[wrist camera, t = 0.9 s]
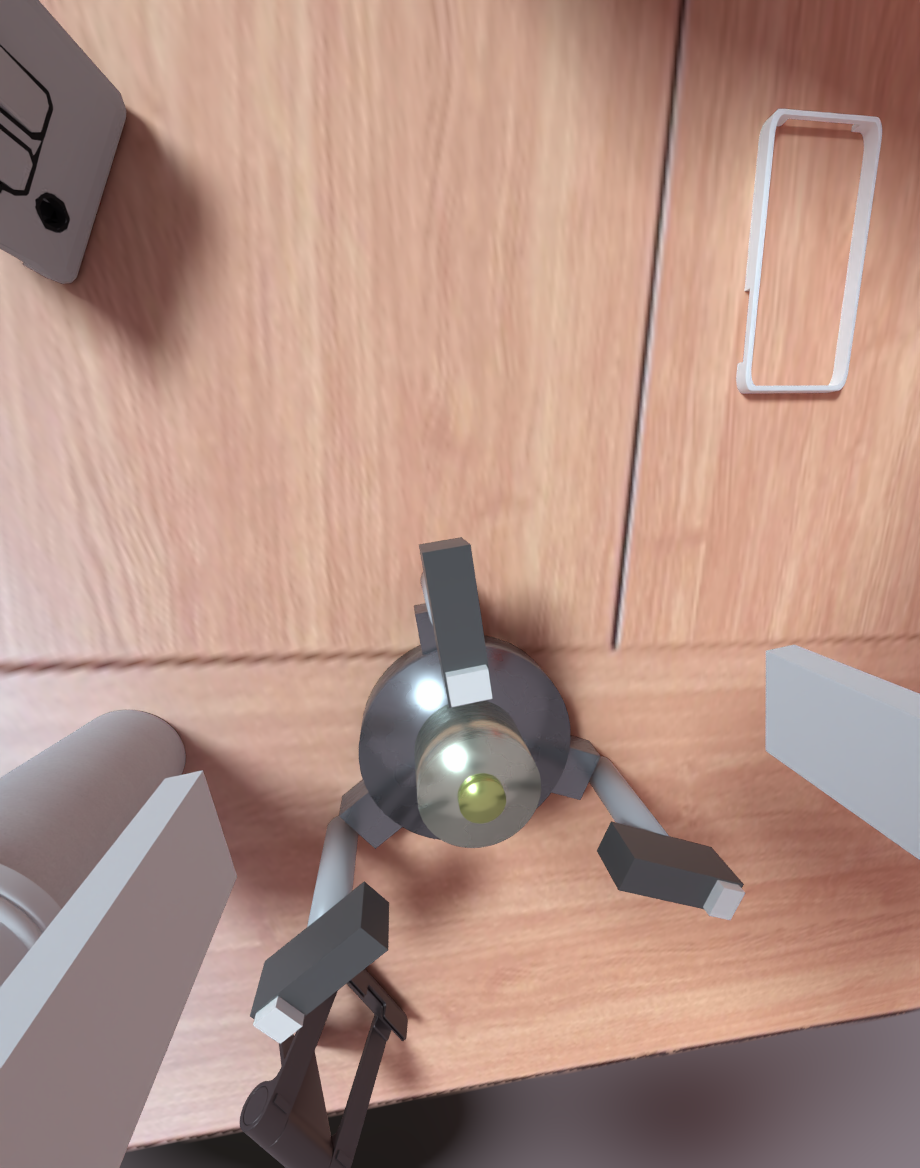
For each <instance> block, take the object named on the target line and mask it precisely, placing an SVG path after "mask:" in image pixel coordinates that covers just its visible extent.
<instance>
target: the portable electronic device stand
mask: <svg viewBox="0 0 920 1168" xmlns="http://www.w3.org/2000/svg"><path fill="white" fill-rule="evenodd" d="M347 985H348V986H349V987H350V988H351V989H352V990H353V991H354V992H355V993H356V994H357V995H358V996H359V998H360V999H361V1000H362V1001H363V1002H364V1003H365V1004H366V1005H367V1006H368V1007H369V1008H370V1009H371V1011H372V1012H373V1013H374V1018H373V1021H372V1024H371V1028H370V1031H369V1034H368V1037H367V1040H366V1044H365V1047H364V1050H363V1053H362V1056H361V1060H360V1063H359V1066H358V1069H357V1072H356V1076H355V1079H354V1082H353V1085H352V1088H351V1092H350V1095H349V1098H348V1101H347V1104H346V1108H345V1111H344V1114H343V1118H342V1120H341V1123H340V1126H339V1128H338V1131H337V1132H336V1134H334V1135H333V1136H331V1134H330V1128H329V1123H328V1118H327V1112H326V1107H325V1102H324V1097H323V1092H322V1087H321V1081H320V1076H319V1071H318V1066H317V1061H316V1056H315V1048H316V1046H317V1043H318V1040H319V1038H320V1035H321V1033H322V1030H323V1027H324V1025H325V1022H326V1020H327V1017H328V1014H329V1012H330V1009H331V1007H332V1004H333V1001H334V999H335V996H336V994H337V991H338V990H337V991H336V992H335V993H334V994H332V995H331V996H330V997H329V998H327V999H326V1000H325V1001H324V1002H322V1003H321V1004H320V1005H319V1006H317V1007H316V1008H315V1009H314V1010H312V1011H311V1012H310V1013H308V1014H307V1015H306V1016H305V1017H304V1020H303V1026H302V1027H301V1028H300V1029H298V1030H297V1032H296V1034H295V1036H294V1035H293V1034H292V1035H291V1036H290V1037H288V1038H287V1039H286V1040H285V1041H283V1042H282V1043H281V1044H280V1043H279V1048H280V1057H281V1065H282V1067H281V1069H280V1071H279V1073H278V1075H277V1076H276V1077H275V1078H274V1079H273V1080H271V1081H264V1082H262V1083H260V1084H259V1085H257V1086H256V1087H255V1088H254V1090H253V1091H252V1092H251V1094H250V1095H249V1097H248V1098H247V1100H246V1102H245V1104H244V1106H243V1109H242V1112H241V1116H240V1128H241V1129H242V1131H243V1132H245V1133H246V1134H247V1135H248V1136H249V1137H250V1138H252V1139H253V1140H254V1141H255V1142H256V1143H258V1144H259V1145H260V1146H261V1147H262V1148H263V1149H265V1150H266V1151H267V1152H268V1153H269V1154H271V1155H272V1156H273V1157H274V1158H275V1159H276V1160H278V1161H279V1162H280V1163H281V1164H282V1165H283V1166H285V1167H286V1168H351V1164H352V1161H353V1158H354V1154H355V1151H356V1147H357V1144H358V1140H359V1137H360V1133H361V1130H362V1126H363V1123H364V1119H365V1116H366V1112H367V1109H368V1105H369V1101H370V1098H371V1094H372V1091H373V1087H374V1084H375V1080H376V1077H377V1073H378V1069H379V1066H380V1062H381V1059H382V1055H383V1052H384V1048H385V1045H386V1041H387V1040H388V1039H389V1036H390V1033H391V1030H392V1031H393V1032H394V1033H395V1034H396V1035H397V1036H398V1037H399V1038H400V1039H401V1040H402V1041H404V1040H405V1039H406V1036H407V1024H408V1020H407V1016H406V1014H405V1013H404V1012H403V1011H402V1010H401V1008H400V1007H399V1006H398V1005H397V1004H396V1003H395V1002H394V1001H393V999H392V998H391V997H390V996H389V995H388V994H387V993H386V992H385V990H384V989H383V988H382V987H381V986H380V985H379V984H378V983H377V981H376V980H375V979H374V978H373V977H372V976H371V975H370V974H369V973H368V971H367V970H366V969H364V970H362V971H361V972H360V973H359V974H357V975H356V976H355V977H354V978H352V979H351V980H350V981H349V982H347Z"/></svg>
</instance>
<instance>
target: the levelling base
mask: <svg viewBox="0 0 920 1168" xmlns="http://www.w3.org/2000/svg"><path fill="white" fill-rule="evenodd" d="M414 610H415V616H416V621H417V627H418V632H419V638H420V643H421V645H419V646H417V647H416V648H414V649H412V650H410V651H408V652H407V653H406V654H404V655H403V656H401V657H400V658H399V659H397V660H396V661H395V662H394V663H393V664H392V665H391V666H390V667H389V668H388V669H387V670H386V671H385V672H384V674H383V675H382V676H381V677H380V678H379V680H378V682H377V683H376V685H375V686H374V688H373V690H372V692H371V694H370V696H369V698H368V700H367V703H366V707H365V710H364V713H363V720H362V727H361V734H360V741H359V764H360V770H361V774H362V777H363V780H362V781H360V782H359V783H358V784H357V785H355V786H354V787H353V788H352V789H350V790H349V791H348V792H347V793H346V794H344V795H343V796H342V801H341V807H340V813H339V817H340V818H341V819H343V820H344V821H345V822H346V823H347V824H348V825H349V826H350V827H352V828H353V829H354V830H355V831H356V832H357V833H358V834H359V835H360V836H362V837H363V838H364V839H365V840H366V841H367V842H368V843H369V844H371V845H372V846H373V847H374V848H375V849H376V848H377V847H378V846H379V845H380V844H382V843H383V842H384V841H385V840H387V839H388V838H389V837H390V836H392V835H393V834H394V833H395V832H397V831H398V830H399V829H400V828H402V827H403V828H405V829H407V830H409V831H411V832H414V833H416V834H418V835H422V836H425V837H429V838H433V839H439V840H443V841H444V842H447V843H449V844H451V845H455V846H458V847H465V848H480V847H486V846H491V845H494V844H497V843H499V842H502V841H504V840H506V839H508V838H510V837H511V836H513V835H514V834H515V833H517V832H518V831H519V830H520V829H521V828H523V827H524V826H525V824H526V823H527V822H528V821H529V820H530V818H531V817H532V815H533V814H534V812H535V810H536V809H537V808H538V807H539V806H540V805H541V804H542V803H543V802H544V801H545V799H546V798H547V797H548V796H549V795H550V793H551V792H552V793H556V794H559V795H563V796H567V797H571V798H574V799H578V800H580V799H581V797H582V795H583V793H584V791H585V789H586V787H587V785H588V782H589V780H590V778H591V776H592V774H593V772H594V770H595V767H596V765H597V763H598V761H599V759H600V757H601V756H600V755H599V754H598V752H597V751H596V750H595V748H594V747H593V746H592V744H591V743H590V742H589V741H588V740H584V739H581V738H578V737H574V736H571V735H570V722H569V717H568V713H567V710H566V707H565V704H564V701H563V699H562V697H561V695H560V693H559V691H558V690H557V689H556V687H555V686H554V684H553V683H552V682H551V680H550V679H549V678H548V676H547V675H546V674H545V673H544V671H543V670H542V669H541V668H540V666H539V665H538V664H537V663H536V662H535V661H534V660H533V659H532V658H531V657H530V656H528V655H527V654H526V653H525V652H523V651H522V650H520V649H519V648H517V647H515V646H514V645H512V644H510V643H507V642H505V641H502V640H500V639H496V638H493V637H489V636H484V639H485V646H486V653H487V660H488V666H489V673H490V680H491V687H492V693H493V699H492V700H487V701H482V702H477V703H473V704H468V705H463V706H458V707H454V708H449V706H448V702H447V697H446V693H445V689H444V685H443V680H442V674H441V668H440V663H439V657H438V651H437V646H436V640H435V634H434V628H433V625H432V623H431V621H430V618H429V614H428V610H427V606H426V604H420V605H415V606H414Z"/></svg>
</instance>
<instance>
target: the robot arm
mask: <svg viewBox="0 0 920 1168" xmlns="http://www.w3.org/2000/svg"><path fill="white" fill-rule="evenodd" d="M766 751H767V752H768V753H769V754H771V755H772V756H774V757H775V758H776V759H778V760H779V761H781V762H782V763H784V764H785V765H786V766H788V767H789V768H791V769H792V770H793V771H795V772H796V773H798V774H799V775H800V776H802V777H803V778H805V779H806V780H807V781H809V782H810V783H812V784H813V785H815V786H816V787H817V788H819V789H820V790H822V791H823V792H824V793H826V794H827V795H829V796H830V797H831V798H833V799H834V800H836V801H837V802H838V803H840V804H841V805H843V806H844V807H846V808H847V809H848V810H850V811H851V812H853V813H854V814H855V815H857V816H858V817H860V818H861V819H862V820H864V821H865V822H867V823H868V824H870V825H871V826H872V827H874V828H875V829H877V830H878V831H879V832H881V833H882V834H884V835H885V836H886V837H888V838H889V839H891V840H892V841H893V842H895V843H896V844H898V845H899V846H901V847H902V848H903V849H905V850H906V851H908V852H909V853H910V854H912V855H913V856H915V857H916V858H917V859H919V860H920V694H919V693H916V692H914V691H911V690H909V689H906V688H904V687H901V686H899V685H896V684H894V683H891V682H888V681H886V680H883V679H881V678H878V677H876V676H873V675H871V674H868V673H866V672H863V671H860V670H858V669H855V668H853V667H850V666H848V665H845V664H843V663H840V662H837V661H835V660H832V659H830V658H827V657H825V656H822V655H820V654H817V653H815V652H812V651H809V650H807V649H804V648H802V647H799V646H797V645H790V646H786V647H781V648H776V649H772V650H767V651H766ZM236 878H237V874H236V871H235V868H234V865H233V862H232V859H231V856H230V852H229V849H228V846H227V843H226V840H225V837H224V834H223V831H222V828H221V825H220V821H219V818H218V815H217V812H216V809H215V806H214V803H213V800H212V797H211V794H210V790H209V787H208V784H207V781H206V778H205V775H204V772H203V770H202V771H197V772H193V773H188V774H183V775H179V776H174V777H169V778H165V779H164V781H163V782H162V783H161V784H160V786H159V787H158V788H157V789H156V791H155V792H154V793H153V794H152V796H151V797H150V798H149V799H148V801H147V802H146V803H145V805H144V806H143V807H142V808H141V810H140V811H139V812H138V813H137V815H136V816H135V817H134V818H133V820H132V821H131V822H130V824H129V825H128V826H127V827H126V829H125V830H124V831H123V832H122V834H121V835H120V836H119V837H118V839H117V840H116V841H115V843H114V844H113V845H112V846H111V848H110V849H109V850H108V851H107V853H106V854H105V855H104V856H103V858H102V859H101V860H100V861H99V863H98V864H97V865H96V867H95V868H94V869H93V870H92V872H91V873H90V874H89V875H88V877H87V878H86V879H85V880H84V882H83V883H82V884H81V886H80V887H79V888H78V889H77V891H76V892H75V893H74V894H73V896H72V897H71V898H70V899H69V901H68V902H67V903H66V905H65V906H64V907H63V908H62V910H61V911H60V912H59V913H58V915H57V916H56V917H55V918H54V920H53V921H52V922H51V923H50V925H49V926H48V927H47V929H46V930H45V931H44V932H43V934H42V935H41V936H40V937H39V939H38V940H37V941H36V942H35V944H34V945H33V946H32V948H31V949H30V950H29V951H28V953H27V954H26V955H25V956H24V958H23V959H22V960H21V961H20V963H19V964H18V965H17V967H16V968H15V969H14V970H13V972H12V973H11V974H10V975H9V977H8V978H7V979H6V980H5V982H4V983H3V984H2V986H1V987H0V1168H119V1167H120V1164H121V1162H122V1159H123V1156H124V1154H125V1152H126V1149H127V1147H128V1144H129V1142H130V1140H131V1137H132V1135H133V1132H134V1130H135V1127H136V1125H137V1122H138V1120H139V1117H140V1115H141V1112H142V1110H143V1108H144V1105H145V1103H146V1100H147V1098H148V1095H149V1093H150V1090H151V1088H152V1085H153V1083H154V1080H155V1078H156V1075H157V1073H158V1071H159V1068H160V1066H161V1063H162V1061H163V1058H164V1056H165V1053H166V1051H167V1048H168V1046H169V1043H170V1041H171V1038H172V1036H173V1034H174V1031H175V1029H176V1026H177V1024H178V1021H179V1019H180V1016H181V1014H182V1011H183V1009H184V1006H185V1004H186V1001H187V999H188V997H189V994H190V992H191V989H192V987H193V984H194V982H195V979H196V977H197V974H198V972H199V969H200V967H201V964H202V962H203V960H204V957H205V955H206V952H207V950H208V947H209V945H210V942H211V940H212V937H213V935H214V932H215V930H216V928H217V925H218V923H219V920H220V918H221V915H222V913H223V910H224V908H225V905H226V903H227V900H228V898H229V895H230V893H231V891H232V888H233V886H234V883H235V881H236Z"/></svg>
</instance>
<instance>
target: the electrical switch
mask: <svg viewBox="0 0 920 1168" xmlns="http://www.w3.org/2000/svg"><path fill="white" fill-rule="evenodd" d="M125 120H126V108H125V105H124V102H123V99H122V96H121V93H120V92H119V91H118V90H117V89H116V88H115V86H114V85H113V84H112V83H111V82H110V81H109V80H108V79H107V77H106V76H105V75H104V74H103V73H102V72H101V71H100V70H99V68H98V67H97V66H96V65H95V64H94V63H93V62H92V60H91V59H90V58H89V57H88V56H87V55H86V54H85V53H84V51H83V50H82V49H81V48H80V47H79V46H78V45H77V43H76V42H75V41H74V40H73V39H72V38H71V37H70V35H69V34H68V33H67V32H66V31H65V30H64V29H63V28H62V26H61V25H60V24H59V23H58V22H57V21H56V20H55V18H54V17H53V16H52V15H51V14H50V13H49V12H48V10H47V9H46V8H45V7H44V6H43V5H42V4H41V3H40V1H39V0H0V249H2V250H4V251H5V252H7V253H9V254H11V255H12V256H14V257H16V258H18V259H19V260H21V261H23V265H25V266H26V267H28V268H30V269H32V270H34V271H35V272H37V273H39V274H41V275H43V276H44V277H46V278H48V279H51V280H54V281H56V282H59V283H62V284H63V283H71V282H73V281H74V280H75V279H76V278H77V275H78V272H79V269H80V265H81V262H82V259H83V256H84V252H85V249H86V246H87V243H88V240H89V236H90V233H91V230H92V227H93V223H94V220H95V217H96V214H97V210H98V207H99V204H100V201H101V197H102V194H103V191H104V188H105V185H106V181H107V178H108V175H109V172H110V168H111V165H112V162H113V159H114V155H115V152H116V149H117V146H118V142H119V139H120V136H121V133H122V130H123V126H124V123H125Z"/></svg>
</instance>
